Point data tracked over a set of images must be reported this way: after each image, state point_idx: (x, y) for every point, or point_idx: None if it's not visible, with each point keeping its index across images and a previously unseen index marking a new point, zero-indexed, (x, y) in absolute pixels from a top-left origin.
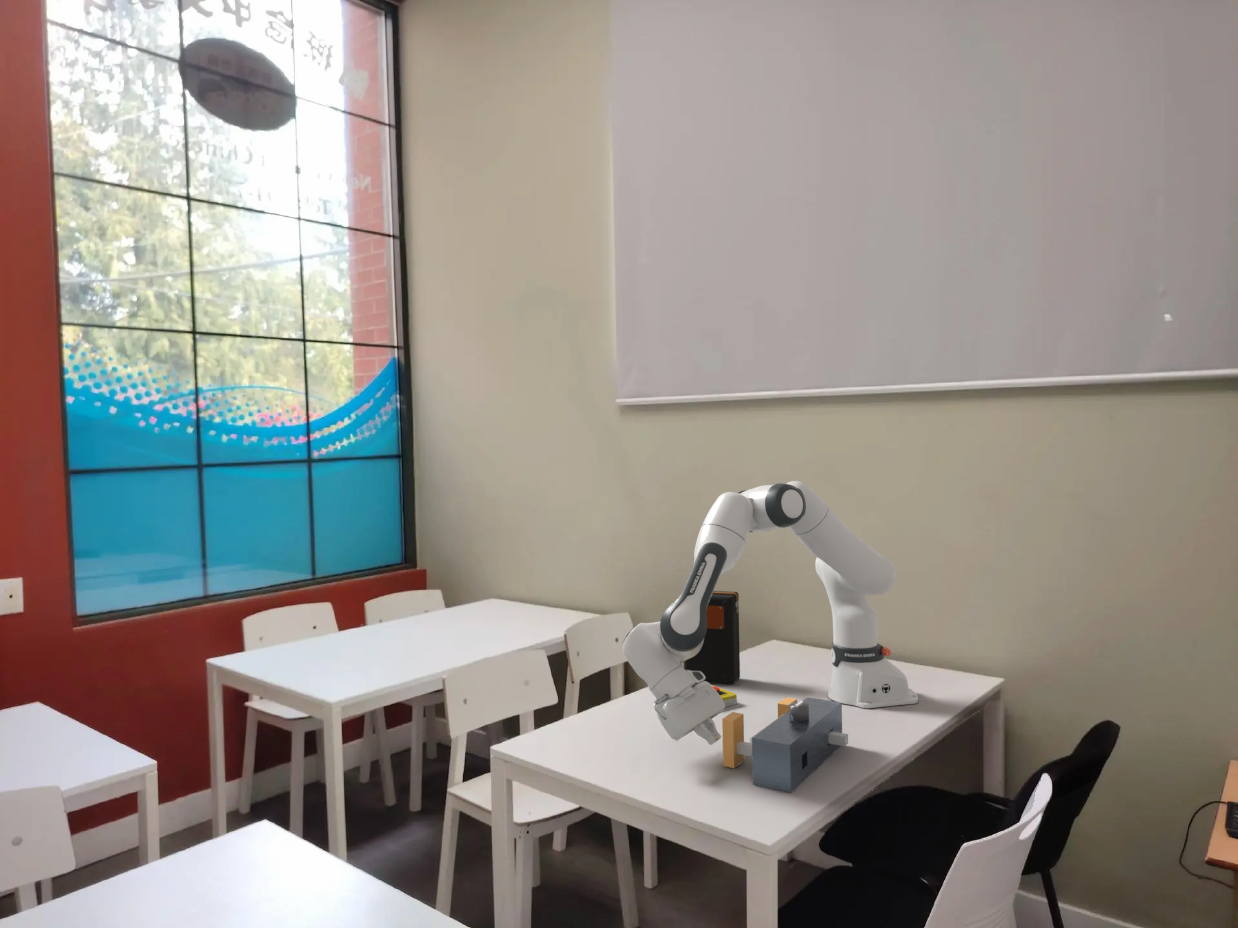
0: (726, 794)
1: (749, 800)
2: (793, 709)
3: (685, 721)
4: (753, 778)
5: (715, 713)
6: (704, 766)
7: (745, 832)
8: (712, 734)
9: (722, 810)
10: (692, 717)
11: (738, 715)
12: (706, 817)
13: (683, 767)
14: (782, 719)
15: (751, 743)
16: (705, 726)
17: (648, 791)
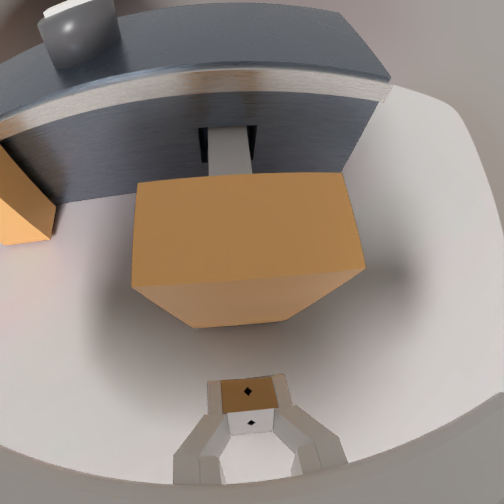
0: (418, 212)
1: (401, 159)
2: (108, 4)
3: (495, 441)
4: (340, 169)
5: (108, 477)
6: (313, 382)
7: (465, 135)
8: (273, 400)
9: (460, 188)
10: (428, 484)
11: (200, 193)
12: (488, 201)
13: (359, 427)
14: (101, 68)
15: (382, 96)
16: (298, 448)
17: (498, 366)
